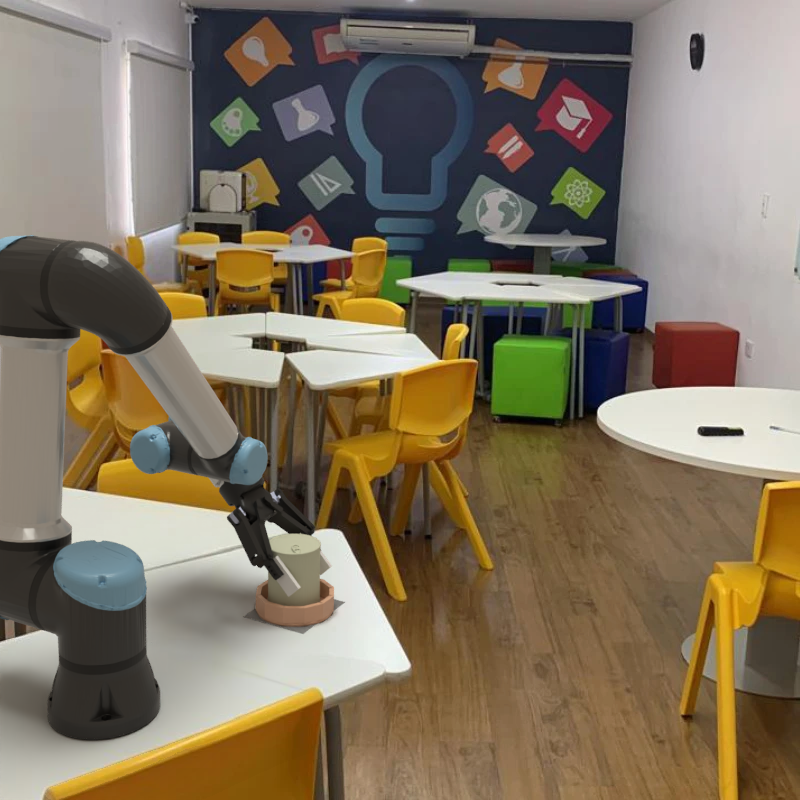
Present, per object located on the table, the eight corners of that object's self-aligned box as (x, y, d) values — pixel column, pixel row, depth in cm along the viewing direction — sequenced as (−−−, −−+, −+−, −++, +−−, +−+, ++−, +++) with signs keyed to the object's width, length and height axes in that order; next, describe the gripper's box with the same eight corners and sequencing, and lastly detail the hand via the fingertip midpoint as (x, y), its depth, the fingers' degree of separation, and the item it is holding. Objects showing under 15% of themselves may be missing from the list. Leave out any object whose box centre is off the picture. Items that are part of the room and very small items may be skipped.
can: (271, 620, 163) (270, 553, 161) (263, 596, 172) (263, 532, 169) (325, 615, 166) (326, 549, 163) (315, 591, 175) (315, 529, 172)
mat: (303, 635, 161) (303, 633, 161) (242, 618, 166) (242, 616, 166) (345, 604, 173) (345, 602, 173) (287, 588, 178) (287, 586, 178)
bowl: (307, 633, 161) (308, 614, 160) (240, 614, 166) (240, 596, 165) (347, 603, 172) (347, 585, 171) (283, 586, 178) (284, 569, 177)
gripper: (207, 481, 158) (288, 594, 155) (283, 449, 177) (356, 548, 174) (181, 506, 161) (260, 616, 158) (258, 472, 181) (330, 569, 178)
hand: (310, 581), depth 166 cm, fingers open, 10 cm apart
